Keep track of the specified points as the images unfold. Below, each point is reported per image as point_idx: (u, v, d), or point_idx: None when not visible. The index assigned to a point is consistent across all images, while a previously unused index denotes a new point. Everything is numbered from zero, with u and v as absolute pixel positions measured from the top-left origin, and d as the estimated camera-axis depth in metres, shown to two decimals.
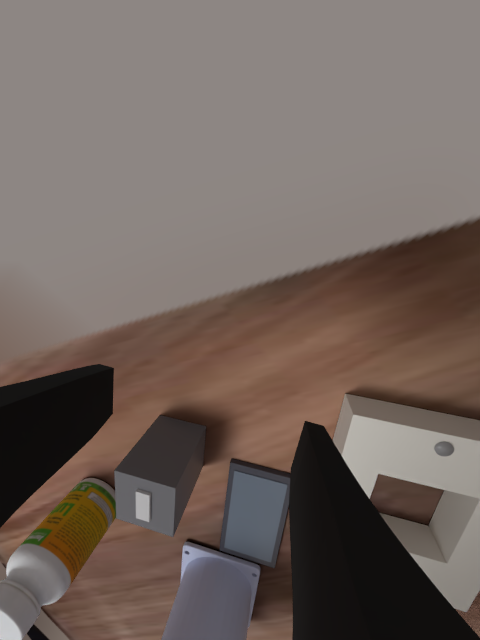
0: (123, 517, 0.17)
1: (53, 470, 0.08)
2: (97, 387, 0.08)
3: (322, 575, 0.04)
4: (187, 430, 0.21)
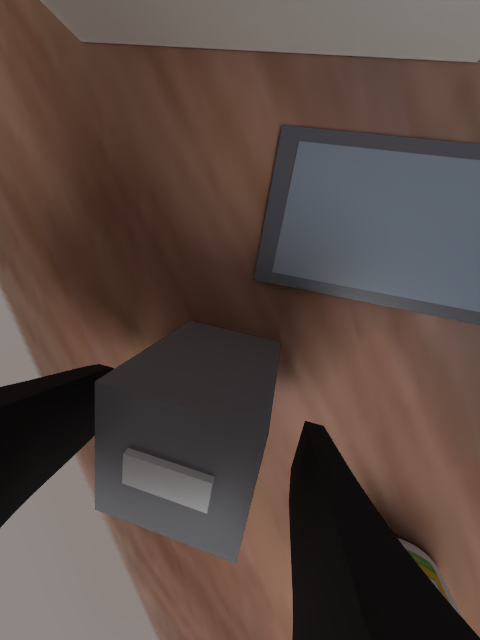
0: (227, 544, 0.07)
1: (52, 470, 0.08)
2: None
3: (322, 575, 0.04)
4: None
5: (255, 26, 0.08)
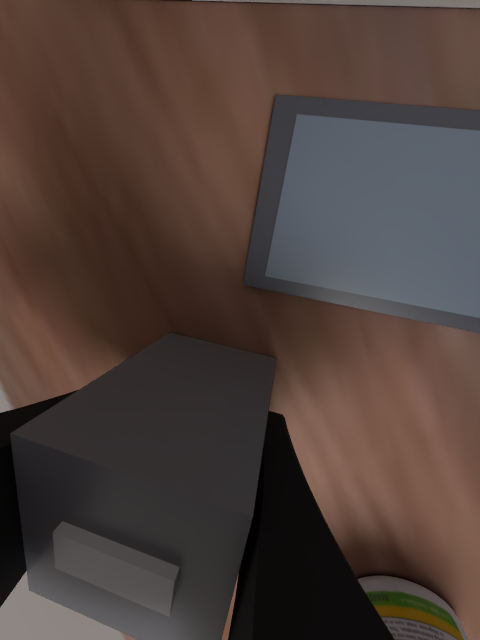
0: None
1: None
2: None
3: (250, 549, 0.05)
4: None
5: None
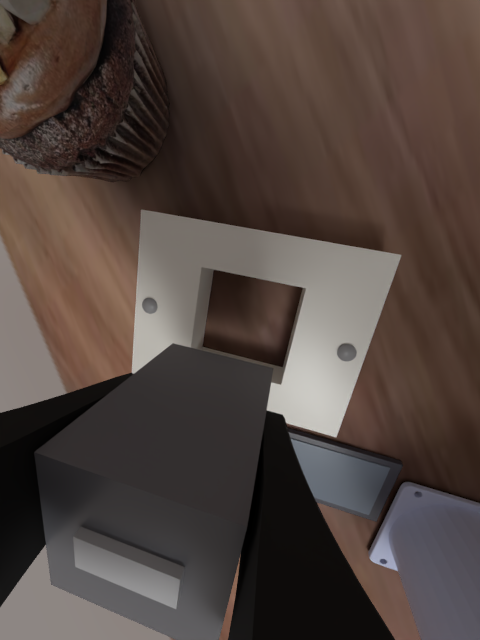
0: (203, 637, 0.05)
1: None
2: None
3: (250, 549, 0.05)
4: None
5: None
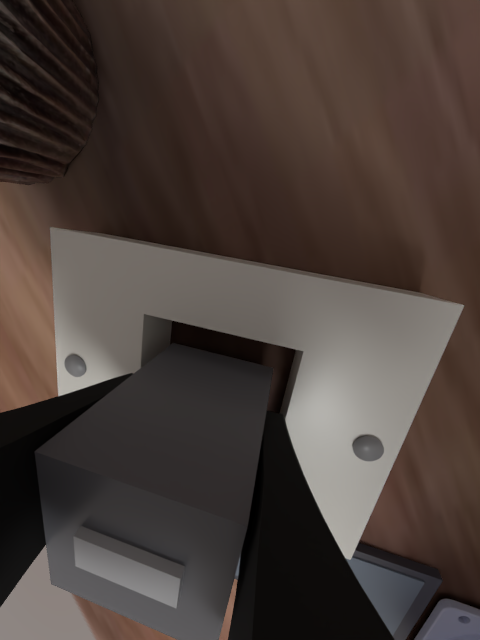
0: (203, 636, 0.05)
1: None
2: None
3: (250, 549, 0.05)
4: None
5: None
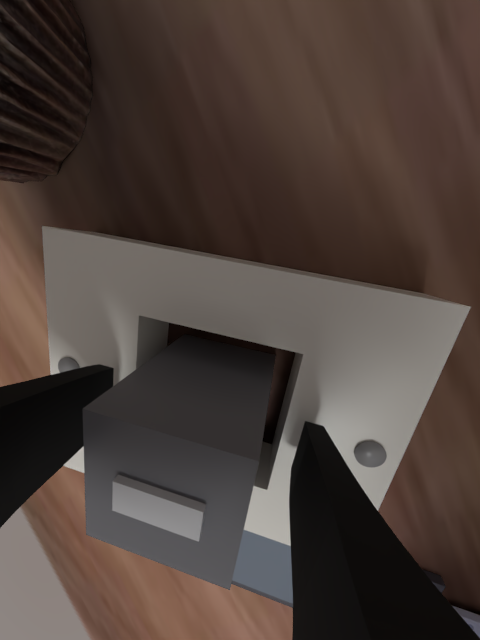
0: (220, 571, 0.06)
1: (53, 470, 0.08)
2: (97, 387, 0.08)
3: (322, 575, 0.04)
4: None
5: None
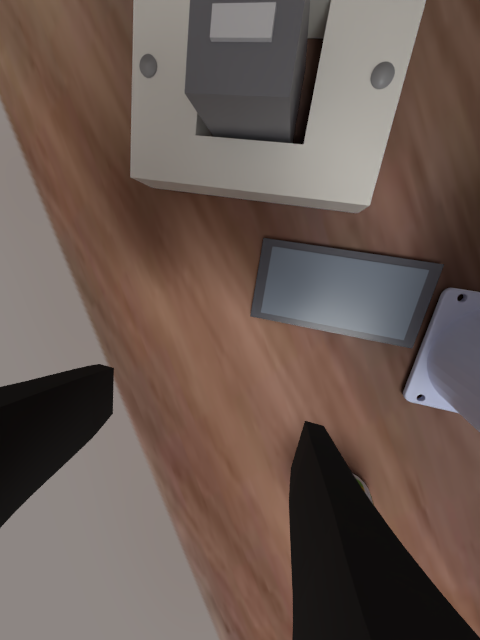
0: (283, 79, 0.09)
1: (53, 470, 0.08)
2: (97, 387, 0.08)
3: (322, 575, 0.04)
4: None
5: (248, 196, 0.15)
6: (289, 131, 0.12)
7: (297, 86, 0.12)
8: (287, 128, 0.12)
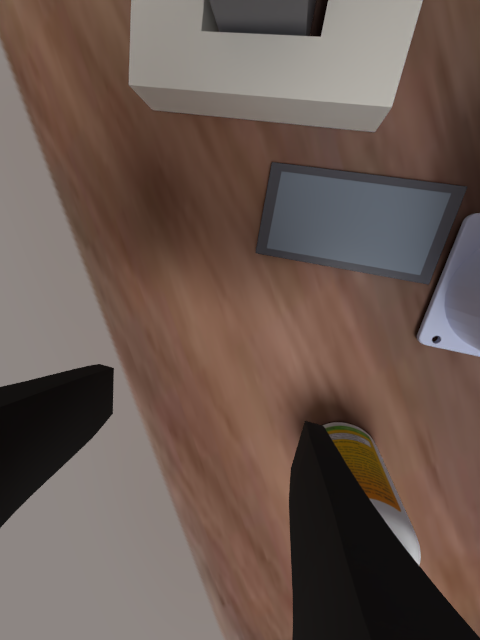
0: None
1: (53, 469, 0.08)
2: (97, 387, 0.08)
3: (322, 575, 0.04)
4: None
5: (257, 111, 0.14)
6: (306, 17, 0.11)
7: None
8: (304, 10, 0.11)
